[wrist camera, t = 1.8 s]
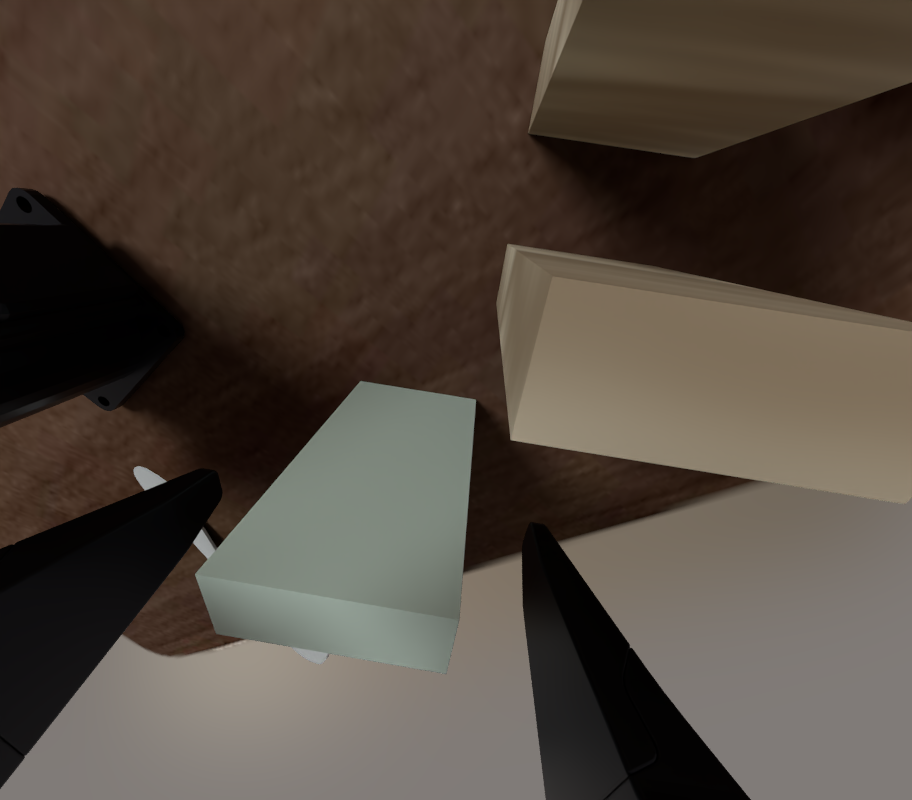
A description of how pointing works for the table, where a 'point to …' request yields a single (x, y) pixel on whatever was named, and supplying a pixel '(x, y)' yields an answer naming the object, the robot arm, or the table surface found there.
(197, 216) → the table surface
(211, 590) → the domino
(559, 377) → the domino
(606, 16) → the domino
